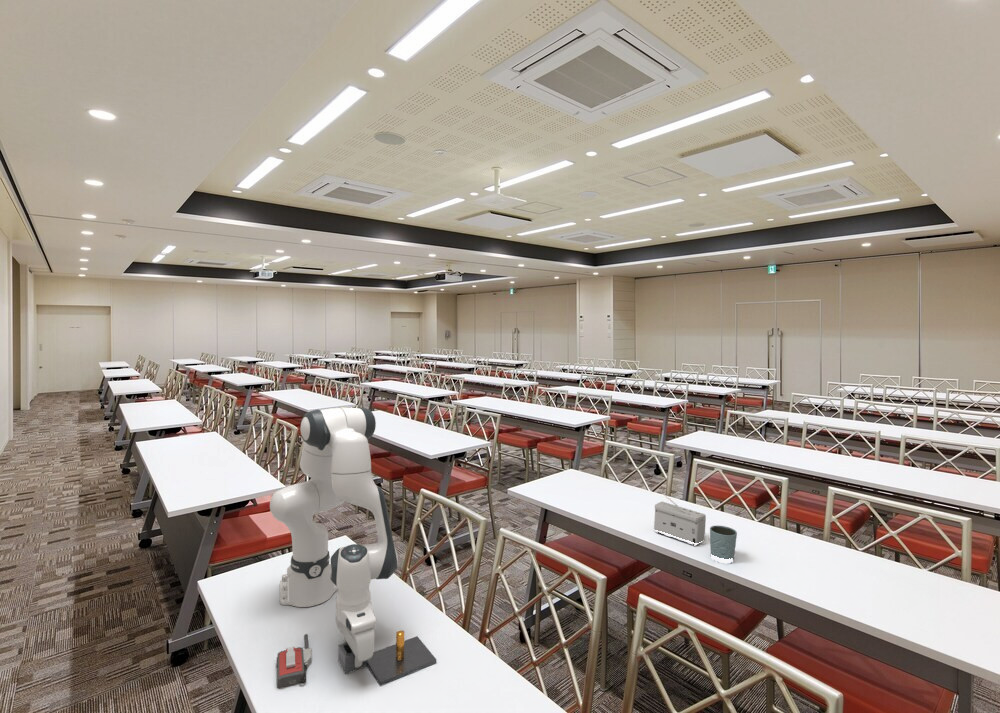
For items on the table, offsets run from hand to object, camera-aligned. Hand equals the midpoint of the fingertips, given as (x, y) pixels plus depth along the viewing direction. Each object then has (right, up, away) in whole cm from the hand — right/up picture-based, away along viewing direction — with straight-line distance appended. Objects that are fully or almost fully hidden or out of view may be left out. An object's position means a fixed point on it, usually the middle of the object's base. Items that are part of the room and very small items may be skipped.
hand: (353, 657), depth 135 cm
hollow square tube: (0, -2, 0) cm, 2 cm away
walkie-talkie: (-16, -2, 0) cm, 16 cm away
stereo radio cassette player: (+119, 0, +87) cm, 147 cm away
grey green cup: (+130, -1, +68) cm, 146 cm away
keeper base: (+12, -2, +1) cm, 13 cm away
